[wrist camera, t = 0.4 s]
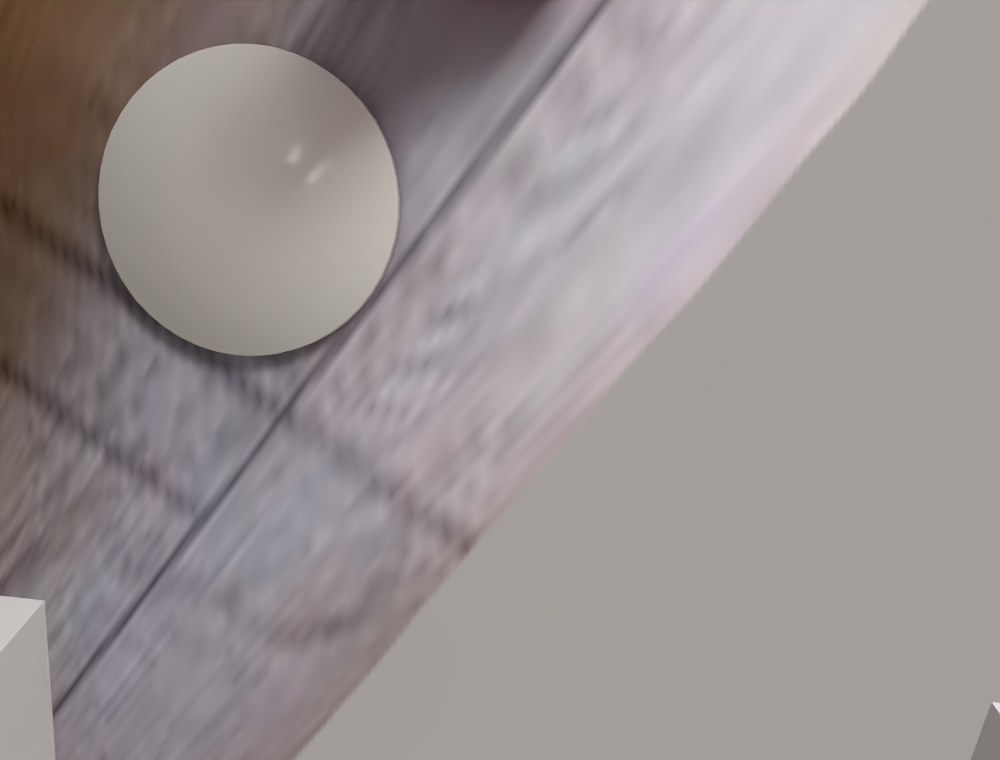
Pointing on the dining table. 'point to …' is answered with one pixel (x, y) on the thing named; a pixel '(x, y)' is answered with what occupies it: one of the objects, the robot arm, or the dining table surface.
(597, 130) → the dining table surface
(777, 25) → the dining table surface
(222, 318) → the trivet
